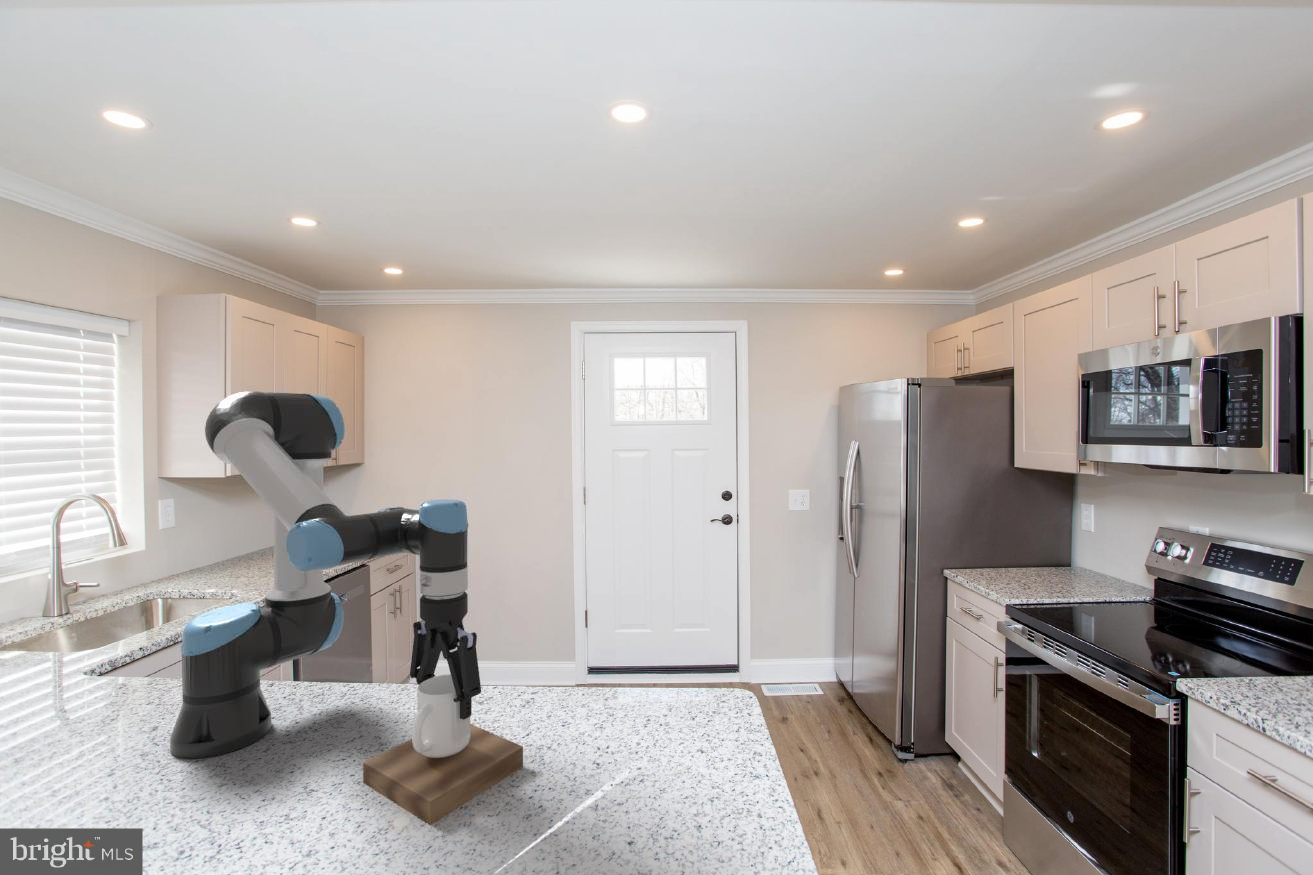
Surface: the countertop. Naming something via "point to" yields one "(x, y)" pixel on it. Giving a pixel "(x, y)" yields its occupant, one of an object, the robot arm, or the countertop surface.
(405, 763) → the walnut block
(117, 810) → the countertop surface
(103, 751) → the countertop surface
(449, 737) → the mug
